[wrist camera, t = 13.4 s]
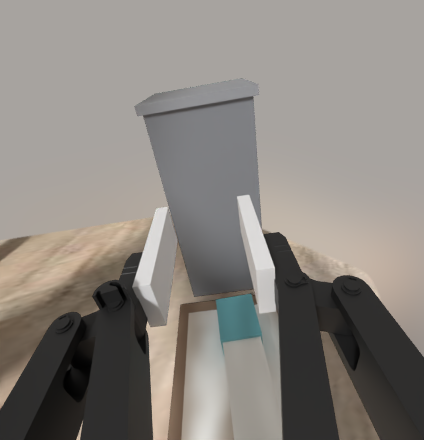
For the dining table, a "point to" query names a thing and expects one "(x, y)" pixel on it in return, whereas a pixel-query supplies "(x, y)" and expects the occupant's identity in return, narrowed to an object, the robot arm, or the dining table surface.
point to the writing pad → (210, 373)
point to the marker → (247, 371)
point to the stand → (207, 176)
